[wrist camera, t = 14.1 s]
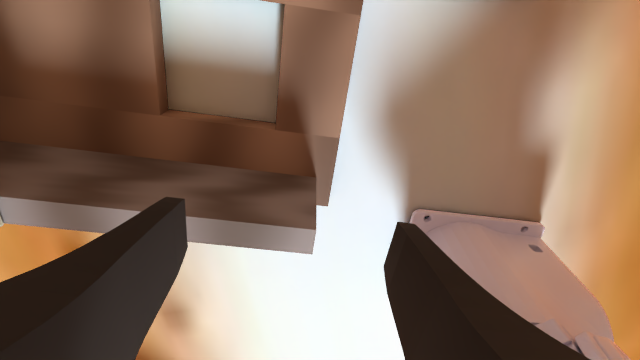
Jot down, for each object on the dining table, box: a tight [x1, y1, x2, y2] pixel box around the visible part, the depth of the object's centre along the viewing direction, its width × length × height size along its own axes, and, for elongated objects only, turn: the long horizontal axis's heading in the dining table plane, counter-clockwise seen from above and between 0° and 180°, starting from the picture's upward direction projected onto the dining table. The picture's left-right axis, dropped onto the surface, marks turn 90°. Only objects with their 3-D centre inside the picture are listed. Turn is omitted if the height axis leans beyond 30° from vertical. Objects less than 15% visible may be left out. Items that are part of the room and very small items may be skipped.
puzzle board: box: [0, 0, 363, 254], centre depth 16 cm, size 26×15×7 cm, turn 82°
